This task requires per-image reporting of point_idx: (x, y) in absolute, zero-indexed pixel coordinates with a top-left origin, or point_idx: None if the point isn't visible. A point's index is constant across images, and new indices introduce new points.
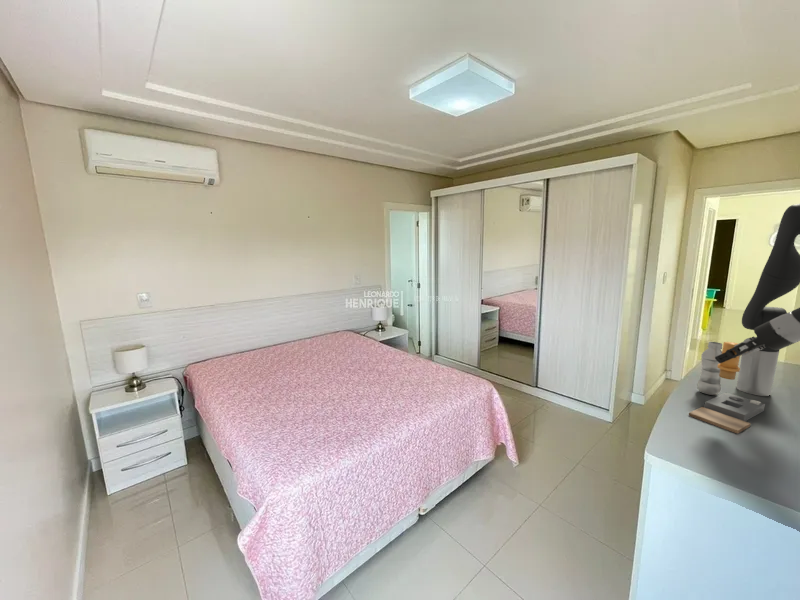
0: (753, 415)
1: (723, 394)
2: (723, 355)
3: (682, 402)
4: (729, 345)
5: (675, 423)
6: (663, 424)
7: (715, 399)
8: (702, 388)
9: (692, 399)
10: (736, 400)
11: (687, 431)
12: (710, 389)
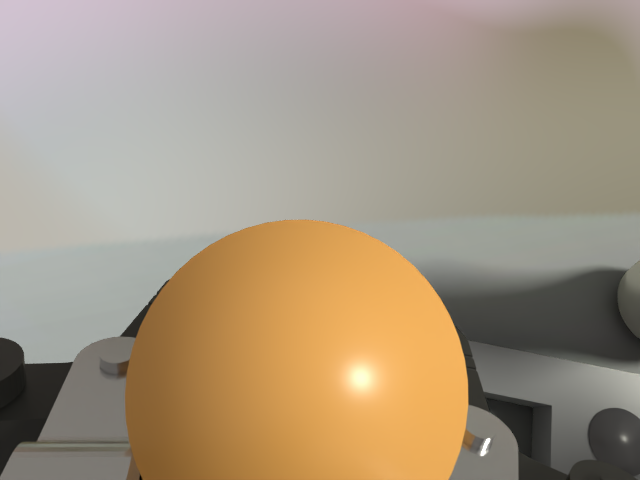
0: None
1: (634, 378)
2: (137, 327)
3: (403, 253)
4: (137, 344)
5: (108, 285)
6: (57, 254)
7: (505, 361)
8: (625, 283)
9: (489, 276)
10: (594, 446)
11: (53, 338)
12: (637, 316)
